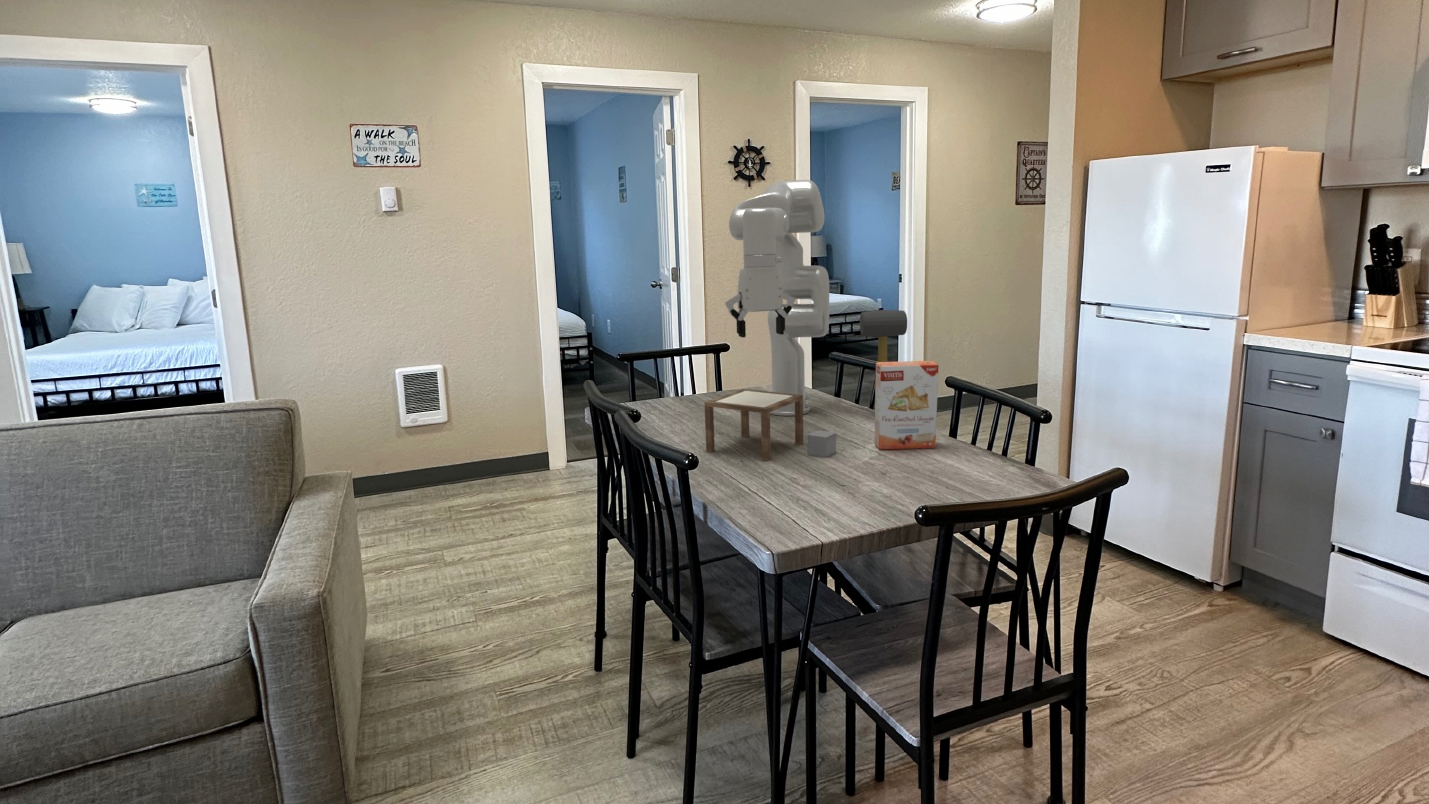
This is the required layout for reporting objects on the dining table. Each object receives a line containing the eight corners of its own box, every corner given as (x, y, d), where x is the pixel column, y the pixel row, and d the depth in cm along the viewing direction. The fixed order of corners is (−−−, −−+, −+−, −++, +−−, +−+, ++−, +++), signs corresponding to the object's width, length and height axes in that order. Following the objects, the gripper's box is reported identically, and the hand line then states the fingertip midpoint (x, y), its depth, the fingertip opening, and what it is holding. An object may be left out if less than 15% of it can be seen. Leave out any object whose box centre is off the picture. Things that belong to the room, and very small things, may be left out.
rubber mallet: (900, 411, 235) (902, 307, 229) (906, 417, 228) (908, 310, 221) (858, 412, 235) (858, 309, 229) (862, 418, 228) (863, 312, 221)
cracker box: (879, 450, 196) (880, 365, 191) (873, 444, 202) (874, 361, 197) (936, 448, 196) (939, 363, 191) (929, 442, 202) (932, 359, 197)
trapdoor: (745, 394, 209) (745, 390, 209) (793, 399, 202) (793, 395, 201) (714, 405, 198) (714, 401, 198) (763, 411, 190) (763, 407, 190)
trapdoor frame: (744, 435, 214) (743, 388, 212) (803, 443, 205) (802, 395, 202) (706, 451, 200) (704, 402, 198) (767, 461, 190) (766, 409, 188)
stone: (817, 450, 199) (817, 430, 198) (835, 452, 196) (836, 432, 195) (807, 455, 195) (807, 434, 194) (826, 457, 192) (826, 437, 191)
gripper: (787, 260, 195) (788, 331, 199) (719, 263, 190) (721, 336, 194) (800, 261, 188) (801, 334, 192) (730, 264, 183) (732, 339, 187)
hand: (761, 335), depth 193 cm, fingers open, 9 cm apart
